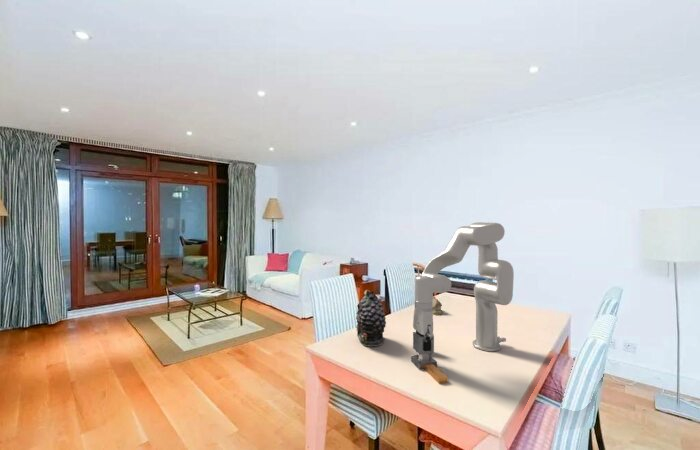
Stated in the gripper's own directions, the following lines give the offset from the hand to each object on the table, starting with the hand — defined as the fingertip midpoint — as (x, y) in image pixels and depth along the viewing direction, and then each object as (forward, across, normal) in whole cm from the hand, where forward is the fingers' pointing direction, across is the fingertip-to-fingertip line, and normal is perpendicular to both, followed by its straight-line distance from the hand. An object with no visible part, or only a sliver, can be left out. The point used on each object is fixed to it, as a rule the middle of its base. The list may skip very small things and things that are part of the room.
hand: (423, 347), depth 136 cm
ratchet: (+8, +6, 0) cm, 10 cm away
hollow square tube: (+1, 0, 0) cm, 1 cm away
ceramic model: (+7, -68, +42) cm, 81 cm away
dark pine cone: (+8, -31, -14) cm, 35 cm away
